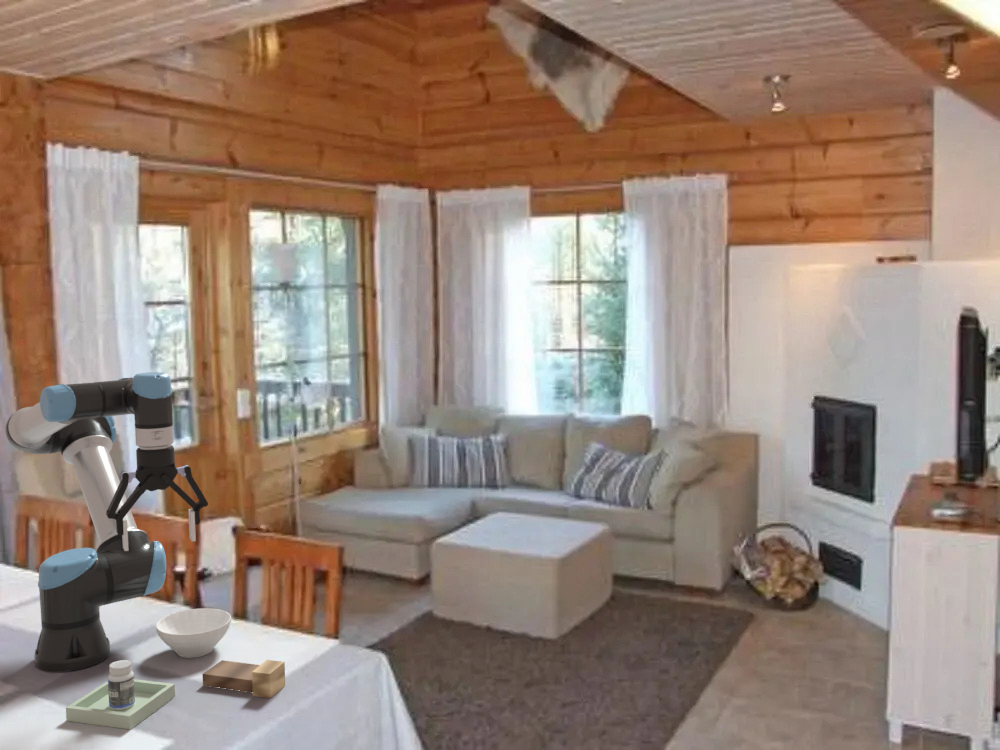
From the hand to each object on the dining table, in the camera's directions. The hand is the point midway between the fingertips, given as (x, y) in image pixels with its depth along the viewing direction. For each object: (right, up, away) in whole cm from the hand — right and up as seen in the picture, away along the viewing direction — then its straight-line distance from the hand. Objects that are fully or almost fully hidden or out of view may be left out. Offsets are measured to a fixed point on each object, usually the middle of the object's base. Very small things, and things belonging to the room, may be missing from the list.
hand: (159, 544), depth 198 cm
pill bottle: (-1, -28, -17) cm, 33 cm away
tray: (-1, -29, -17) cm, 33 cm away
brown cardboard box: (+18, -28, -6) cm, 34 cm away
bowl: (+4, -26, +10) cm, 28 cm away
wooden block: (+26, -28, -10) cm, 39 cm away
